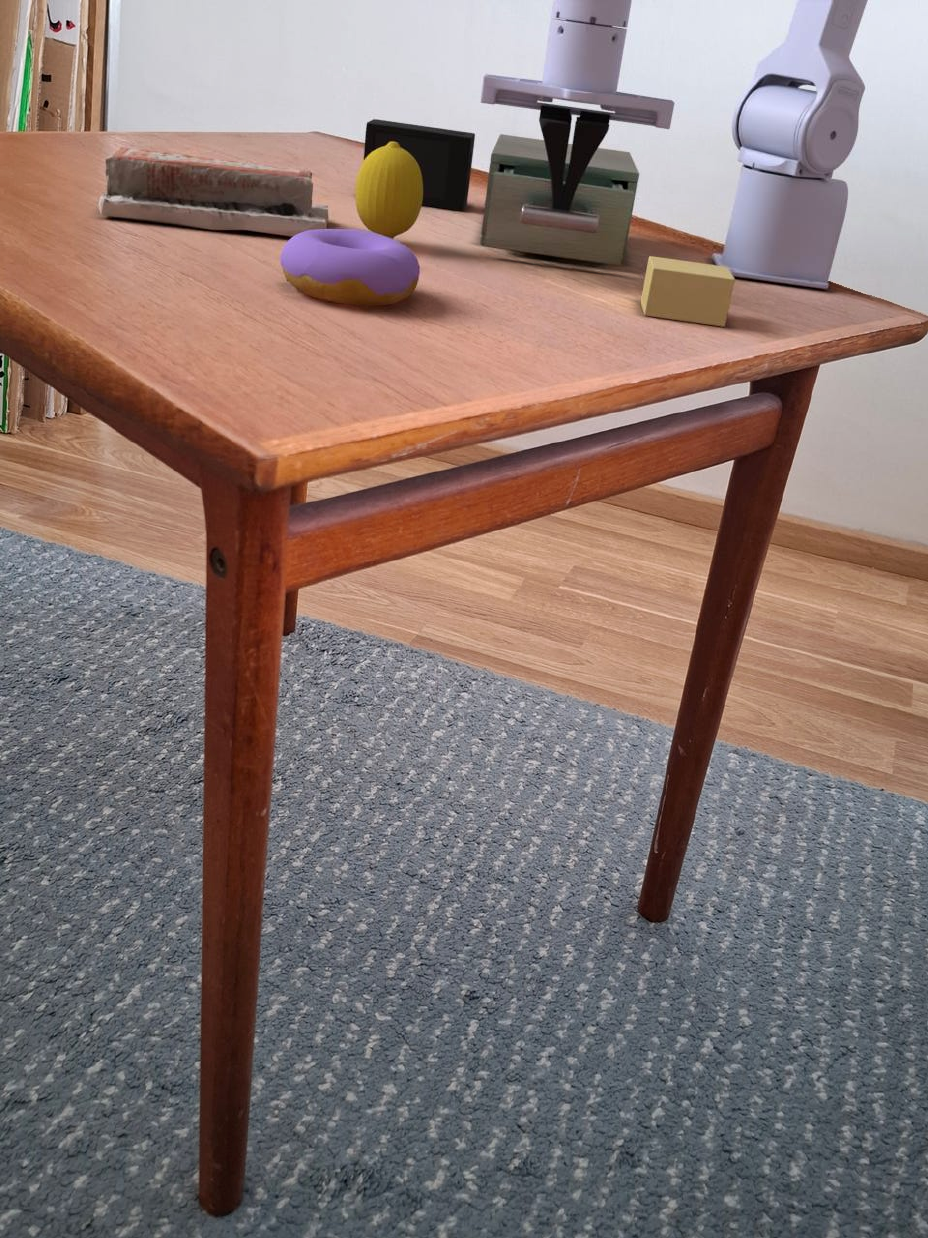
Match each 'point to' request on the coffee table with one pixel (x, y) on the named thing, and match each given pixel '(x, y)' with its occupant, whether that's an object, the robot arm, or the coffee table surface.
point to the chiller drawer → (558, 217)
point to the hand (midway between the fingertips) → (559, 213)
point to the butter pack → (687, 291)
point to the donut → (350, 266)
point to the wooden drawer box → (535, 157)
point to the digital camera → (430, 158)
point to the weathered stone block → (209, 193)
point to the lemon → (389, 191)
